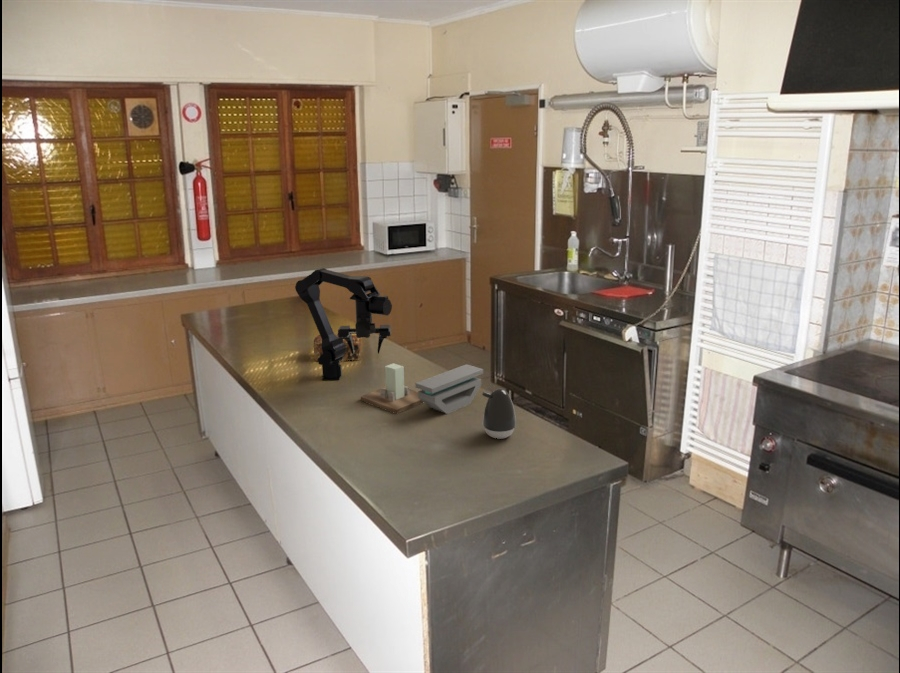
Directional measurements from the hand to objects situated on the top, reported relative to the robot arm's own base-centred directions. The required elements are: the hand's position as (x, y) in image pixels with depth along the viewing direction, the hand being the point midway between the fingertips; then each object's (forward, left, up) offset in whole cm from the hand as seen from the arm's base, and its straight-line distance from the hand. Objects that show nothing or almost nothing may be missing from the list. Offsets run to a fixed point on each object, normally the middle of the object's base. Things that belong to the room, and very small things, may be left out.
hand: (365, 353), depth 253 cm
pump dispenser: (+44, -46, -12) cm, 65 cm away
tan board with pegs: (+11, -16, -12) cm, 23 cm away
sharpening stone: (+30, -22, -12) cm, 39 cm away
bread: (-14, +31, -12) cm, 37 cm away
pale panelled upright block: (+11, -16, -10) cm, 22 cm away
